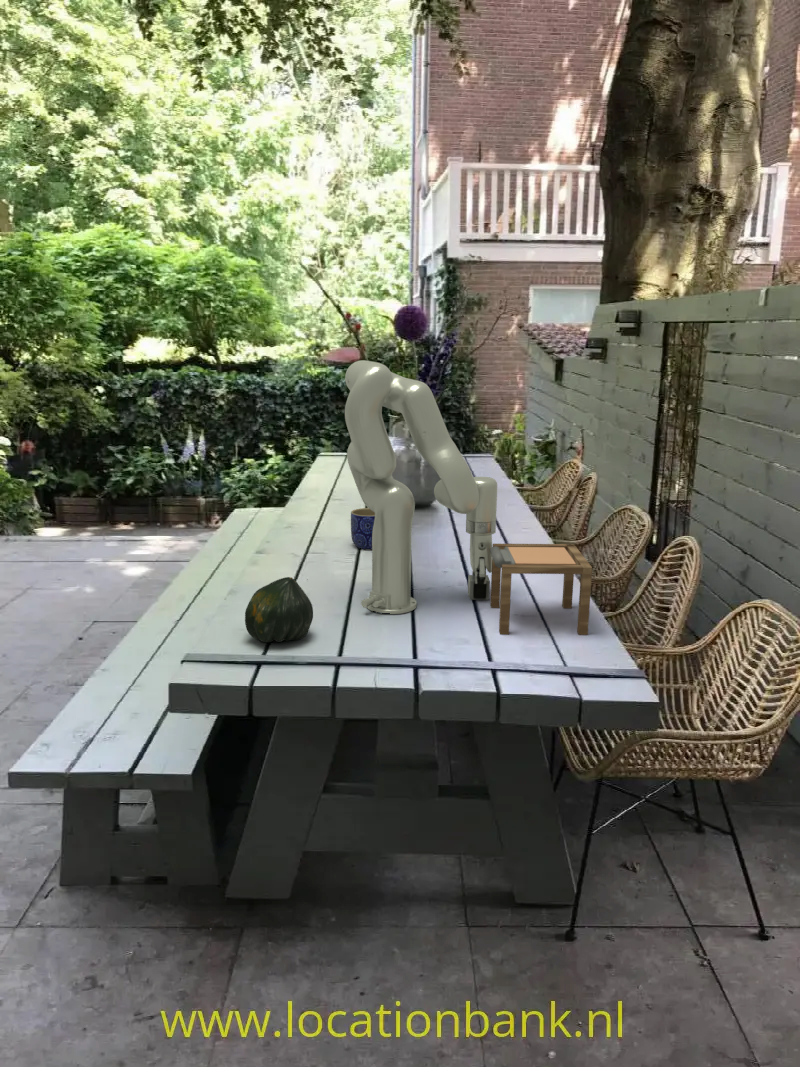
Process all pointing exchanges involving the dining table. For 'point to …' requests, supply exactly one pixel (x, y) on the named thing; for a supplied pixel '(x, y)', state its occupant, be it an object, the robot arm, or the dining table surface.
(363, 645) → the dining table surface
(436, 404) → the robot arm
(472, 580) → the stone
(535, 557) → the trapdoor
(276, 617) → the squash
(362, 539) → the planter
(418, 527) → the dining table surface
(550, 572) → the frame
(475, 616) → the dining table surface
